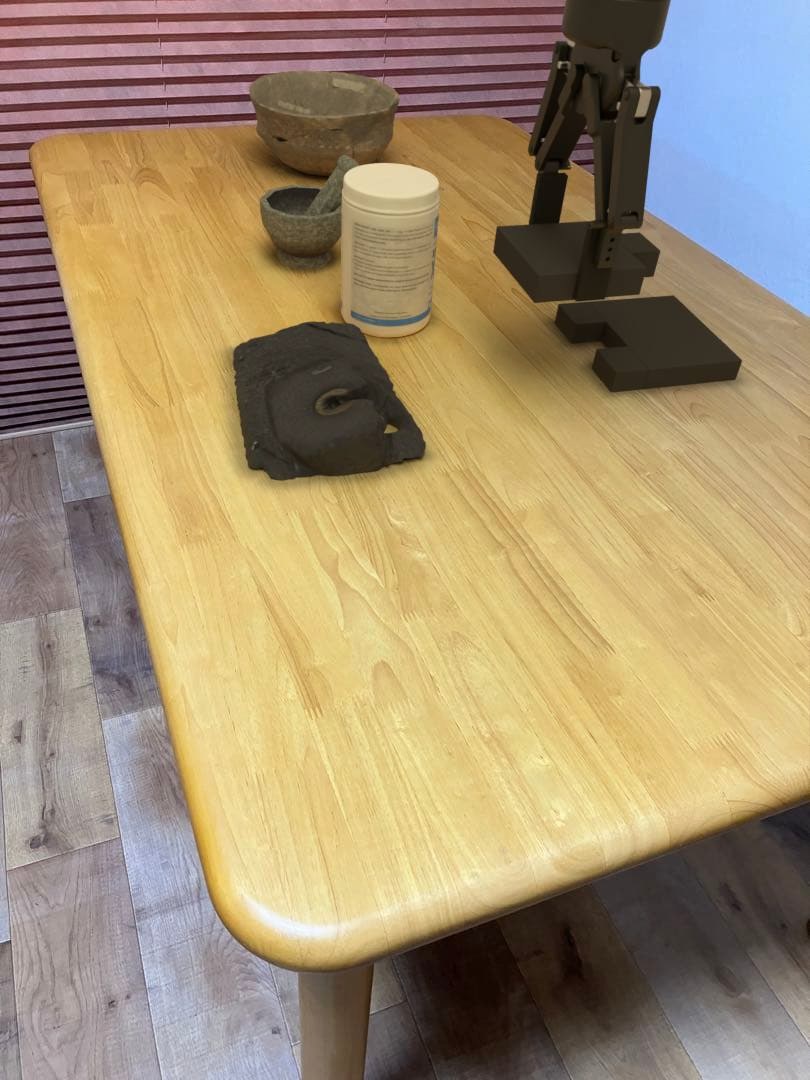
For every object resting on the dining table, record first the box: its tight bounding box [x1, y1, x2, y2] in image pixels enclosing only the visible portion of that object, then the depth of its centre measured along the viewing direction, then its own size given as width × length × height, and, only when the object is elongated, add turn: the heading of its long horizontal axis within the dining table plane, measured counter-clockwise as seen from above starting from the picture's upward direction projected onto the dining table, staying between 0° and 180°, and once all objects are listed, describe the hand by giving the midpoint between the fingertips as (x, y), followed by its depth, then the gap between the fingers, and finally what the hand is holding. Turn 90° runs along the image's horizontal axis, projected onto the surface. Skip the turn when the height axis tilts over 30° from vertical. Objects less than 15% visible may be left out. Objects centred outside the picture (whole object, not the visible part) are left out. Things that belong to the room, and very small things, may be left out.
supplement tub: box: [340, 162, 441, 339], centre depth 88 cm, size 10×10×15 cm
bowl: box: [248, 69, 401, 177], centre depth 122 cm, size 21×21×10 cm
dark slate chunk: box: [232, 320, 427, 482], centre depth 78 cm, size 15×22×5 cm
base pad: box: [554, 294, 743, 393], centre depth 91 cm, size 14×14×2 cm
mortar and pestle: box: [259, 155, 360, 270], centre depth 98 cm, size 11×9×12 cm
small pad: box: [492, 220, 661, 304], centre depth 78 cm, size 13×10×2 cm
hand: (563, 270), depth 78 cm, fingers closed on small pad, 10 cm apart
